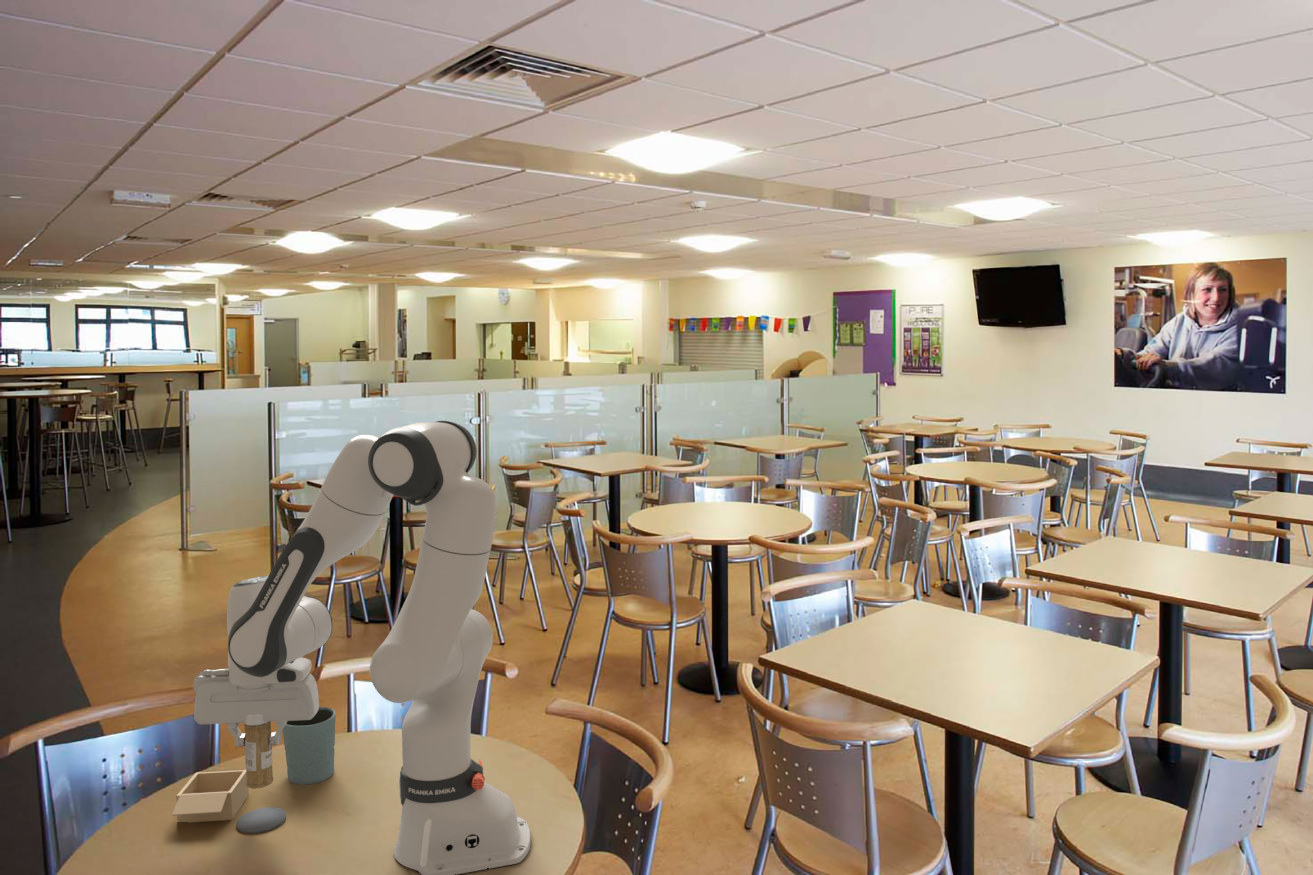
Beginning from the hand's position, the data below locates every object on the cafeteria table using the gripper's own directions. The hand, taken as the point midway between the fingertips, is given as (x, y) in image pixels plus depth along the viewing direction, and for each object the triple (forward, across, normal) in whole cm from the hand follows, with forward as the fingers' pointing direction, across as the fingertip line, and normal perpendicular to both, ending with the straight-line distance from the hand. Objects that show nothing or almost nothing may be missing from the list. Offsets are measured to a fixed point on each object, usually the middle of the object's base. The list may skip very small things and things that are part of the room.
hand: (258, 744), depth 157 cm
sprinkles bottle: (+7, 0, 0) cm, 7 cm away
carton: (+14, -10, +6) cm, 18 cm away
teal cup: (+14, +4, +18) cm, 23 cm away
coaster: (+14, 0, 0) cm, 14 cm away
